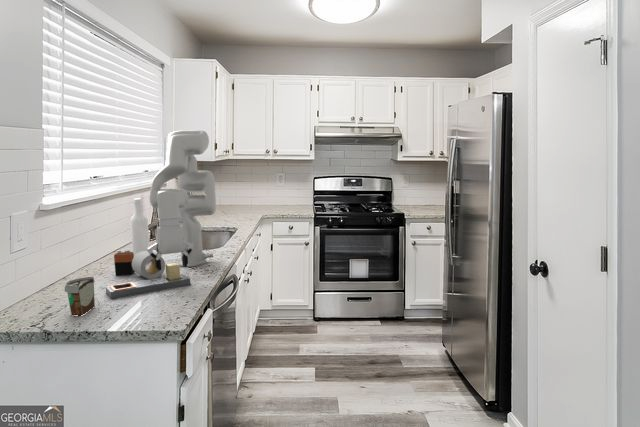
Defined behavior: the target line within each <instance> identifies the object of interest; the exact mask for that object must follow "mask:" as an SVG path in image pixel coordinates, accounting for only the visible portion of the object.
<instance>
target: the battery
mask: <svg viewBox="0 0 640 427" xmlns="http://www.w3.org/2000/svg"><path fill="white" fill-rule="evenodd" d="M133 258H134V253H133V252H132V251H131V250H124V252H122V250H120V251H119V250H118V251H117V252H116V253H114V254H113V259H114V271H115V276H132V275H134V274H135V273H136V272H135V271H134V270H133V268H132V260H133Z"/></svg>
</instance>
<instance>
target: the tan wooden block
mask: <svg viewBox="0 0 640 427" xmlns="http://www.w3.org/2000/svg"><path fill="white" fill-rule="evenodd" d="M180 267H181V266H179V264H178V262H173V263H165V275H166V276H165V277H166V278H167V281H172V280H178V279H180V274H181V271H180V270H181V269H180Z"/></svg>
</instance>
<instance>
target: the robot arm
mask: <svg viewBox="0 0 640 427" xmlns="http://www.w3.org/2000/svg"><path fill="white" fill-rule="evenodd" d="M167 135H168V136H167V141H168V142H167V149H166V159H165V165H164V166H163V167H162V168H161V169H160V170H159V171H158V172H157V173H156V174H155V176H154V177H153V179H152V181H151V185H150V192H149V203H150V206H151V207H153V208H154V209H156V210H157V214H158V226H157V227H156V230H155V232H156V233H155V243H154V244H153V245H150V247H149V248H148V249H147V251H148V253H149V254H150V256H152V257H153V258H154V259H155V264H156V268H157V270H159V271H160V270H161V260H160V257H162V256H163V255H169V254H170V255H171V254H177V253H180V258H181V260H179V261H177V264H179V267H184V268H187V267H198V266H203V265H205V264H207V260H206V259H211V258H213V257H214V253H209V252H208V253H206V252H203V240H202V226H201V223H200V221H199V220H198V219H197V216H199V217H200V216H202V217H203V216H212V215H215V212H216V209H217V200H216V181H215V175H214V174H213V172H212V171H211V170H207V169H205V170H202V169H201V170H198V160H197V158H196V156H198V155H203V154H204V153H205V152H206V150H207V149H208V147H209V143H210V139H209V135H208V133H207V132H206V131H205V130H175V131H172V132H169V133H168V134H167ZM195 155H196V156H195ZM176 178H177V182H178V188H162V187H163V186H164V184H166V183H167V182H170V181H171V180H173V179H176ZM188 192H189V193H195V192H197V193H198V192H201V193H202V192H203V193H204V194H189V193H188ZM153 250H155V252H156V253H154V252H153ZM155 254H156V255H155Z"/></svg>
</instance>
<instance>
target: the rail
mask: <svg viewBox="0 0 640 427" xmlns="http://www.w3.org/2000/svg"><path fill="white" fill-rule="evenodd" d="M191 285H192V284H191V278H190V277H189V276H187V275H185V274H183V273H182V274H181V273H180V279H178V280H172V281H167V278H166V276H163V277H158V278H155V279H143V280H137V281H131V282H125V283H118V284H111V285H108V286H107V285H106V286H105V294H106V295H107V296H108V298H109V299H110V298H111V299H110V300H114V298H115V299H119V298H127V297H131V296H136V295H143V294H148V293H155V292H159V291H164V290H169V289H170V290H171V289H176V288H180V287H188V286H191Z"/></svg>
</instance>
